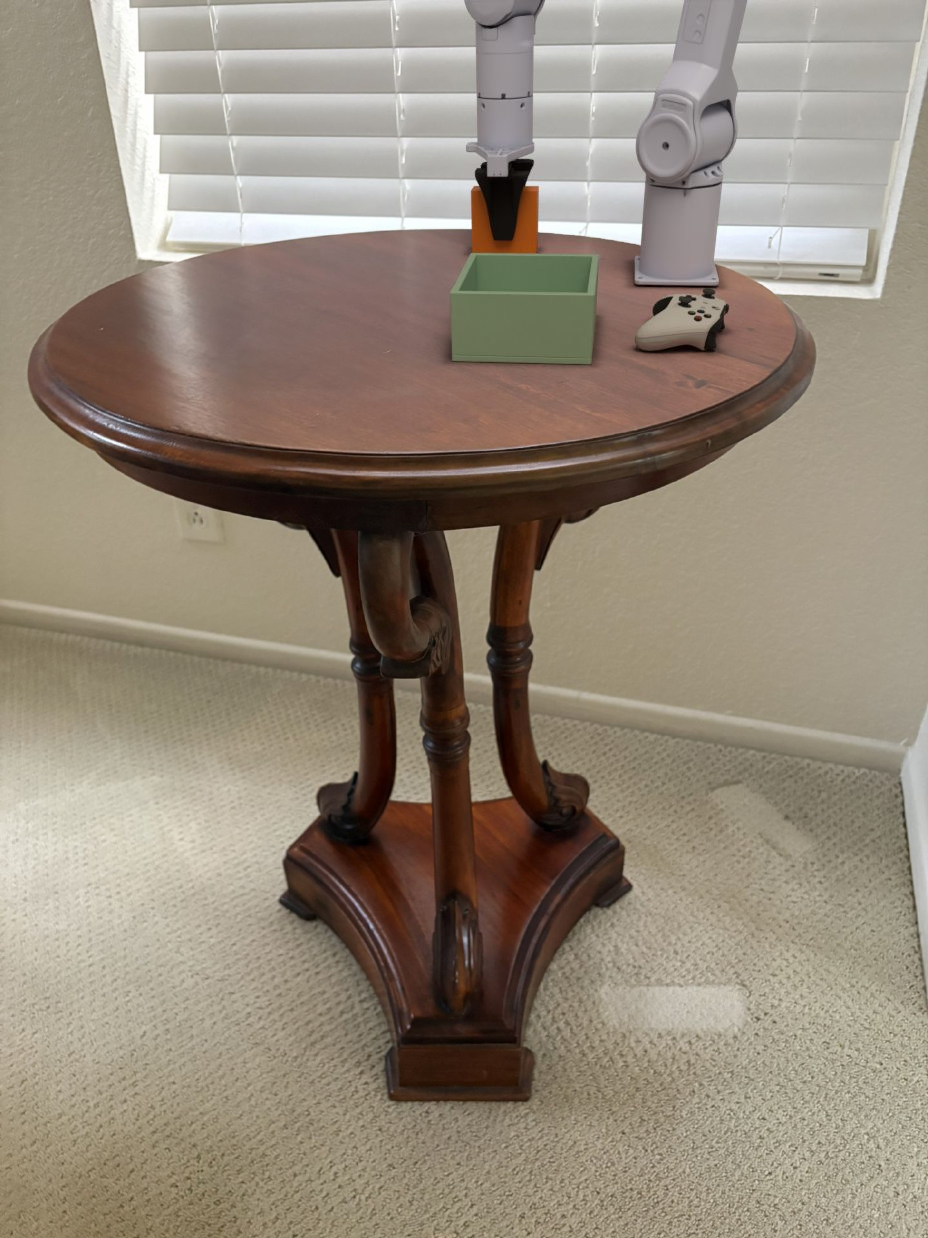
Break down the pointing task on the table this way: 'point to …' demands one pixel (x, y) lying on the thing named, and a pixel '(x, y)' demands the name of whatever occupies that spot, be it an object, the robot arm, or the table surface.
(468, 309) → the bin
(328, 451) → the table surface
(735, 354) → the table surface
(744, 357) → the table surface
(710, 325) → the game controller
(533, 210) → the block
